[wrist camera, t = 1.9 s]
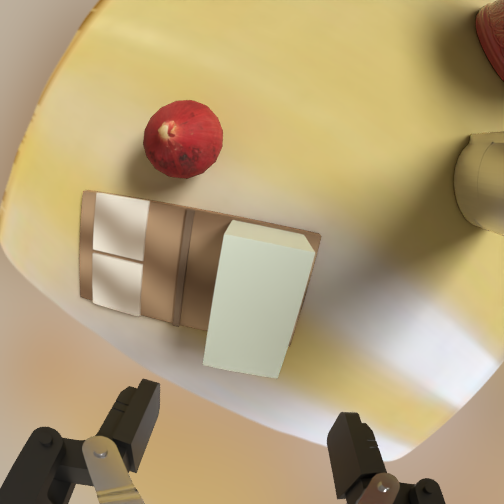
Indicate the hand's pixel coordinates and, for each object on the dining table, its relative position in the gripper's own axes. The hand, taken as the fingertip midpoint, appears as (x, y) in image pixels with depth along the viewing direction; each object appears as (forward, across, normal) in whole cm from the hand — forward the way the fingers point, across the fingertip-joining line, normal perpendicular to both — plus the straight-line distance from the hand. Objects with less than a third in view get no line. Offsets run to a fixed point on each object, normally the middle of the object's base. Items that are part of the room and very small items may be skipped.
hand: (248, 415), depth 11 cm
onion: (+16, +8, -11) cm, 21 cm away
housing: (+15, 0, 0) cm, 15 cm away
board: (+16, +6, 0) cm, 17 cm away
